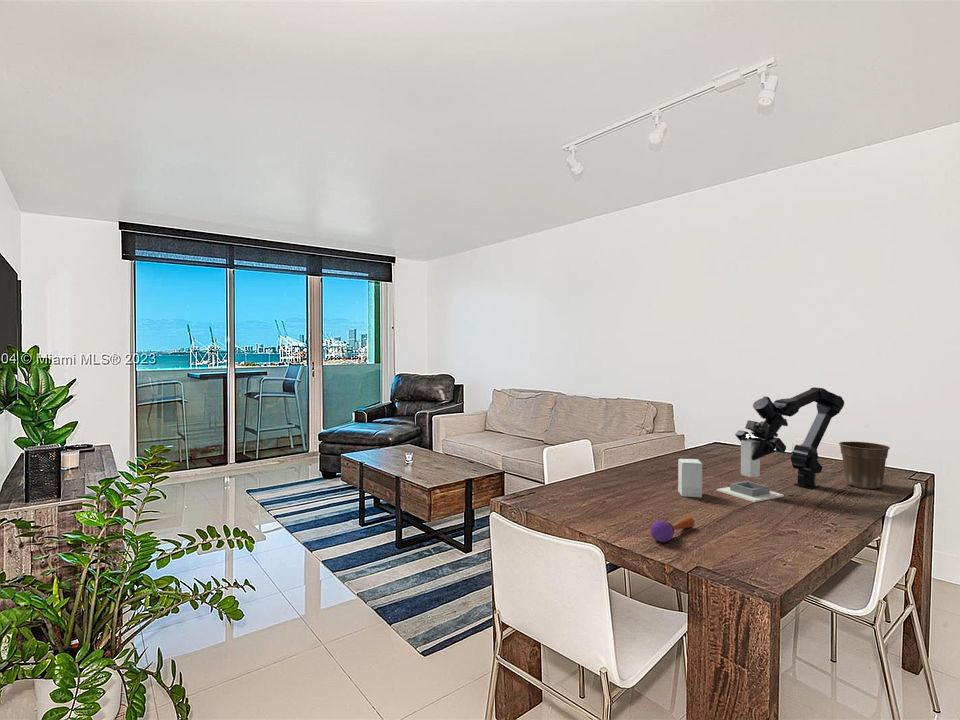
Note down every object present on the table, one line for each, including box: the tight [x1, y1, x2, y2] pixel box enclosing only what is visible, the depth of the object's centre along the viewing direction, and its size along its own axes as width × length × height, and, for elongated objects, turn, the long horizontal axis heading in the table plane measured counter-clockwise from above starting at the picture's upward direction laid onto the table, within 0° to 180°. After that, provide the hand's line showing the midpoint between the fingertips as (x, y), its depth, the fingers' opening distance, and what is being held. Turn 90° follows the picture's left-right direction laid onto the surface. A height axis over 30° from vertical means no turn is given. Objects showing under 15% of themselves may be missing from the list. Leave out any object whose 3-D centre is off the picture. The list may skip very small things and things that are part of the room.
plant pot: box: [838, 441, 891, 490], centre depth 207 cm, size 16×16×16 cm
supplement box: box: [677, 458, 703, 498], centre depth 195 cm, size 7×7×13 cm
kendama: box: [650, 516, 695, 543], centre depth 155 cm, size 6×6×20 cm
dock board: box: [716, 480, 785, 503], centre depth 196 cm, size 16×16×4 cm
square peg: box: [740, 440, 761, 478], centre depth 196 cm, size 4×4×13 cm
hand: (747, 458), depth 195 cm, fingers closed on square peg, 4 cm apart
